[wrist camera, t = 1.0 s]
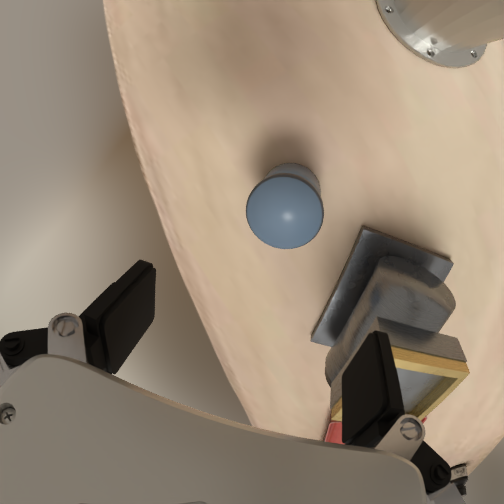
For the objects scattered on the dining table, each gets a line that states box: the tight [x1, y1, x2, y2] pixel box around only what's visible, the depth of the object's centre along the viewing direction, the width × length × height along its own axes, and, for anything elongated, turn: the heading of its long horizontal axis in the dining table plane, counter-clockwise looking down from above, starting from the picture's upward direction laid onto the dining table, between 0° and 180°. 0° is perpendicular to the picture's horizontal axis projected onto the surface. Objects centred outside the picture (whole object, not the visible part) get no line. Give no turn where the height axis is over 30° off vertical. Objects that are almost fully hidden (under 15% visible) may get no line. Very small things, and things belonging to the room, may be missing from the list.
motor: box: [311, 226, 470, 421], centre depth 25 cm, size 16×12×14 cm
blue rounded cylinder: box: [246, 163, 324, 249], centre depth 25 cm, size 6×6×7 cm
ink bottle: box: [450, 464, 468, 497], centre depth 47 cm, size 10×9×12 cm
